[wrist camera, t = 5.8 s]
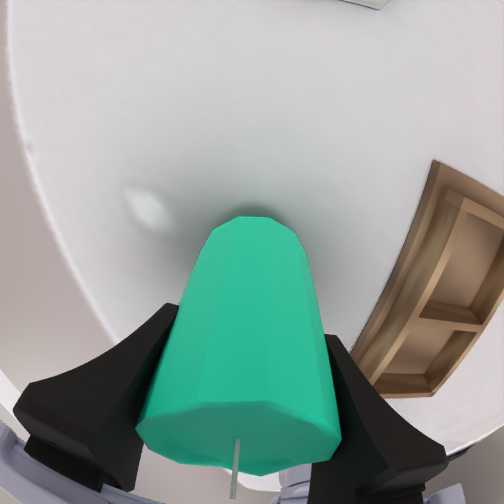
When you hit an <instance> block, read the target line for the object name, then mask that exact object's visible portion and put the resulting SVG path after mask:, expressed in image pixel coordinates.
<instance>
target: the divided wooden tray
mask: <svg viewBox="0 0 504 504" xmlns="http://www.w3.org/2000/svg"><path fill="white" fill-rule="evenodd" d="M503 298H504V197H502V196H501V195H499V194H497V193H496V192H494V191H492V190H491V189H489V188H487V187H486V186H484V185H482V184H480V183H479V182H477V181H475V180H473V179H472V178H470V177H468V176H466V175H464V174H462V173H460V172H458V171H456V170H454V169H453V168H451V167H449V166H447V165H444V164H442V163H440V162H437V161H434V160H433V163H432V166H431V170H430V173H429V176H428V180H427V183H426V186H425V189H424V192H423V195H422V198H421V201H420V204H419V207H418V210H417V213H416V215H415V218H414V221H413V223H412V226H411V229H410V231H409V234H408V236H407V239H406V241H405V244H404V246H403V249H402V251H401V253H400V256H399V258H398V260H397V263H396V265H395V267H394V269H393V272H392V274H391V276H390V278H389V280H388V283H387V285H386V287H385V289H384V291H383V293H382V295H381V297H380V299H379V301H378V303H377V305H376V307H375V309H374V311H373V313H372V315H371V317H370V319H369V321H368V322H367V324H366V326H365V328H364V330H363V332H362V333H361V335H360V337H359V339H358V341H357V342H356V344H355V346H354V348H353V349H352V351H351V353H350V356H351V357H352V359H353V360H354V362H355V363H356V365H357V366H358V367H359V369H360V370H361V372H362V373H363V374H364V376H365V377H366V378H367V380H368V381H369V382H370V384H371V385H372V386H373V387H374V389H375V390H376V391H377V392H378V393H379V395H380V396H381V397H382V398H383V399H389V398H418V397H432V396H433V395H434V394H435V393H436V392H437V391H438V390H439V388H440V387H441V386H442V385H443V384H444V383H445V382H446V380H447V379H448V378H449V377H450V376H451V374H452V373H453V372H454V371H455V369H456V368H457V367H458V366H459V364H460V363H461V362H462V360H463V359H464V358H465V356H466V355H467V354H468V352H469V351H470V350H471V348H472V347H473V345H474V344H475V343H476V341H477V340H478V338H479V337H480V335H481V334H482V332H483V331H484V329H485V328H486V326H487V325H488V323H489V321H490V320H491V318H492V317H493V315H494V313H495V312H496V310H497V308H498V306H499V305H500V303H501V301H502V299H503Z"/></svg>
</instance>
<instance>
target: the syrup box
mask: <svg viewBox="0 0 504 504" xmlns="http://www.w3.org/2000/svg"><path fill="white" fill-rule="evenodd" d="M343 1H348V2H352V3H357V4H360V5H364V6H368V7H371V8H375V9H381V8H382V7H383V6H384V5H386V4H387V3H388V2H389V1H390V0H343Z"/></svg>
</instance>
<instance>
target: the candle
mask: <svg viewBox="0 0 504 504" xmlns="http://www.w3.org/2000/svg"><path fill="white" fill-rule="evenodd" d="M178 306H180V307H179V311H178V313H177V316H176V318H175V321H174V323H173V326H172V328H171V330H170V333H169V335H168V338H167V340H166V343H165V345H164V348H163V350H162V352H161V355H160V357H159V360H158V362H157V365H156V367H155V370H154V373H153V375H152V378H151V381H150V384H149V387H148V390H147V393H146V396H145V399H144V402H143V405H142V408H141V411H140V414H139V417H138V420H137V423H136V426H135V430H136V431H137V433H138V434H139V436H140V437H141V439H142V440H143V442H144V443H145V444H146V446H147V447H148V449H149V450H151V451H153V452H156V453H158V454H160V455H162V456H164V457H166V458H168V459H170V460H173V461H175V462H177V463H179V464H188V465H200V466H216V467H223V468H226V469H230V470H233V472H232V482H231V493H230V498H231V499H235V496H236V485H237V473H238V472H242V473H247V474H251V475H256V476H264V475H268V474H271V473H275V472H278V471H282V470H285V469H288V468H292V467H295V466H298V465H303V464H310V463H316V462H322V461H327V460H330V459H331V457H332V455H333V454H334V452H335V450H336V449H337V447H338V446H339V444H340V442H341V440H342V436H341V429H340V422H339V416H338V409H337V403H336V397H335V391H334V385H333V379H332V373H331V368H330V362H329V357H328V352H327V347H326V341H325V336H324V331H323V326H322V321H321V317H320V312H319V307H318V303H317V298H316V293H315V289H314V284H313V280H312V276H311V271H310V267H309V263H308V259H307V255H306V253H305V251H304V249H303V247H302V245H301V243H300V242H299V240H298V238H297V236H296V234H295V232H294V231H292V230H290V229H288V228H287V227H285V226H283V225H282V224H280V223H278V222H277V221H275V220H273V219H271V218H270V217H245V216H238V217H236V218H234V219H232V220H230V221H228V222H227V223H225V224H223V225H221V226H219V227H217V228H215V229H213V230H212V232H211V234H210V236H209V237H208V239H207V241H206V243H205V244H204V246H203V248H202V250H201V252H200V254H199V256H198V259H197V261H196V263H195V266H194V268H193V271H192V273H191V275H190V278H189V280H188V283H187V285H186V288H185V290H184V293H183V295H182V298H181V300H180V303H179V305H178Z"/></svg>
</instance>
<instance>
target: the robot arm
mask: <svg viewBox="0 0 504 504" xmlns="http://www.w3.org/2000/svg"><path fill="white" fill-rule="evenodd" d="M179 307H180V306H178V305H174V304H170V303H166V304H164V305H163V306H162V307H161V308H160V309H159V310H158V311H157V312H156V313H155V314H154V315H153V316H152V317H151V318H149V319H148V320H147V321H146V322H145V323H144V324H143V325H141V326H140V327H139V328H138V329H137V330H136V331H134V332H133V333H132V334H131V335H129V336H128V337H127V338H125V339H124V340H123V341H121V342H120V343H119V344H117V345H116V346H114V347H113V348H111V349H110V350H108V351H107V352H105V353H104V354H102V355H100V356H98V357H97V358H95V359H93V360H91V361H89V362H88V363H85V364H83V365H81V366H79V367H77V368H74V369H72V370H70V371H67V372H65V373H62V374H60V375H57V376H54V377H51V378H47V379H43V380H40V381H36V382H32V383H29V385H28V386H27V387H26V389H25V390H24V391H23V393H22V394H21V396H20V398H19V399H18V401H17V403H16V404H15V406H14V408H13V413H14V415H15V417H16V418H17V420H18V421H19V422H20V423H21V424H22V426H23V427H24V428H25V429H26V430H27V431H28V432H29V434H30V437H29V439H28V441H27V443H26V442H24V441H23V440H22V439H20V438H19V437H17V435H16V434H15V433H14V431H13V430H12V429H11V428H10V427H8V426H7V425H6V424H5V423H3V422H2V421H1V420H0V488H1V489H2V490H4V491H5V492H6V493H7V494H9V495H10V496H11V497H12V498H14V499H15V500H16V501H17V502H19V503H20V504H164V503H160V502H156V501H153V500H149V499H146V498H143V497H139V496H137V495H133V494H131V493H128V492H129V491H132V490H134V488H135V481H136V476H137V471H138V466H139V461H140V457H141V453H142V448H143V445H144V442H143V440H142V439H141V437H140V436H139V434H138V433H137V431H136V430H135V426H136V423H137V420H138V417H139V414H140V411H141V408H142V405H143V402H144V399H145V396H146V393H147V390H148V387H149V384H150V381H151V378H152V375H153V373H154V370H155V367H156V365H157V362H158V360H159V357H160V355H161V352H162V350H163V348H164V345H165V343H166V340H167V338H168V335H169V333H170V330H171V328H172V326H173V323H174V321H175V318H176V316H177V313H178V311H179ZM324 336H325V341H326V347H327V352H328V357H329V362H330V368H331V373H332V379H333V385H334V391H335V397H336V403H337V409H338V416H339V422H340V429H341V436H342V440H341V442H340V444H339V446H338V447H337V449H336V450H335V452H334V454H333V455H332V457H331V459H330V460H327V461H322V462H316V463H310V464H303V465H298V466H295V467H292V468H288V469H285V470H282V471H279V481H280V484H281V486H282V488H281V495H279V496H276V497H274V498H273V500H272V501H271V502H270V503H269V504H466V503H465V498H464V495H463V490H462V486H461V484H460V483H459V484H456V485H454V486H451V487H448V488H446V489H443V490H441V491H439V492H437V493H435V494H433V495H431V496H430V497H428V498H425V499H423V497H422V491H424V490H425V489H426V488H425V482H427V481H428V480H430V479H431V478H433V477H435V476H436V475H438V474H439V473H441V472H442V471H444V470H445V469H446V468H447V466H448V464H449V462H448V459H447V455H446V452H445V449H444V446H442V445H441V444H439V443H437V442H436V441H434V440H432V439H431V438H429V437H427V436H426V435H424V434H423V433H421V432H420V431H419V430H417V429H416V428H415V427H413V426H412V425H411V424H409V423H408V422H407V421H406V420H405V419H404V418H402V417H401V416H400V415H399V414H398V413H397V412H396V411H395V410H394V409H393V408H392V407H391V406H390V405H389V404H388V403H387V402H386V401H385V400H384V399H383V398H382V397H381V396H380V395H379V393H378V392H377V391H376V390H375V389H374V387H373V386H372V385H371V384H370V382H369V381H368V380H367V378H366V377H365V376H364V374H363V373H362V372H361V370H360V369H359V367H358V366H357V365H356V363H355V362H354V360H353V359H352V357H351V356H350V354H349V353H348V351H347V350H346V348H345V347H344V345H343V344H342V342H341V341H340V339H339V338H338V337H337V336H336V335H329V334H324Z"/></svg>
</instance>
